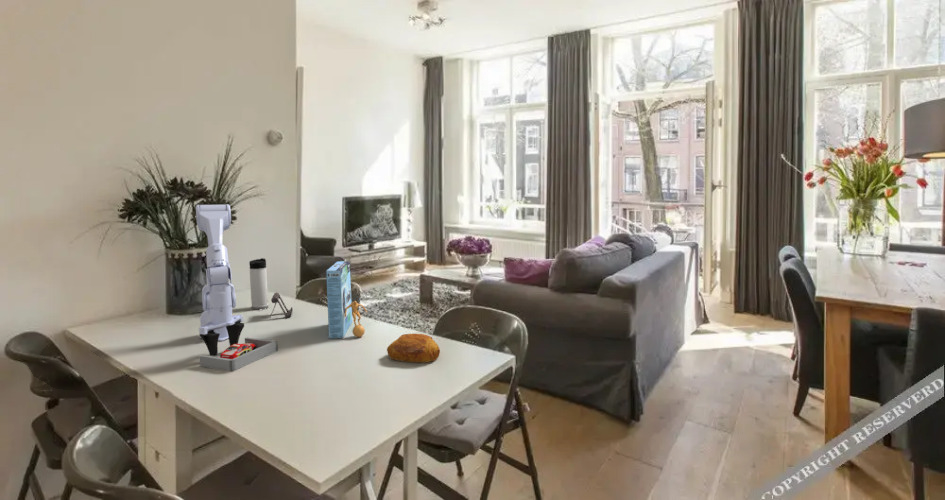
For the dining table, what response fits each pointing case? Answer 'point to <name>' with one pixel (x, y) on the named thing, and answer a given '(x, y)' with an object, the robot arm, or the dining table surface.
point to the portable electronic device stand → (275, 300)
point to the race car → (237, 350)
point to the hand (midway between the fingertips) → (223, 351)
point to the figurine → (358, 329)
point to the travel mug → (258, 284)
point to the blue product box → (339, 299)
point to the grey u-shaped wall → (233, 364)
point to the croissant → (414, 348)
